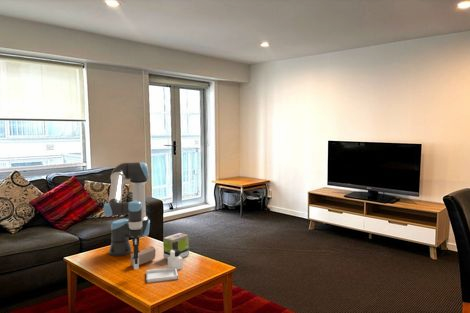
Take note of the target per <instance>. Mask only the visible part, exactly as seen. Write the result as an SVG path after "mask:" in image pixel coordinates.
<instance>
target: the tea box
mask: <svg viewBox="0 0 470 313" xmlns="http://www.w3.org/2000/svg"><path fill="white" fill-rule="evenodd" d="M162 240H163V242H162V245H163V258H164V259H165V260H168V257H170V251H171V250H173V249H178V250H180V257H182V258H185V257H187V256H190V242H189V240H190V238H189V234H187V233H181V232H178V233H175V234H170V235H167V236H165V237H163V239H162Z"/></svg>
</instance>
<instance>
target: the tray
mask: <svg viewBox="0 0 470 313" xmlns="http://www.w3.org/2000/svg"><path fill="white" fill-rule="evenodd" d="M145 272H146V273H145V275H146V276H145V277H146V284H148V283H155V282H156V283H157V282H166V281H173V280H175V281H176V280H179V274H178V270H177V269H176V267H174V268H168V267H165V268H155V269H153V268H152V269H147V270H146V271H145Z"/></svg>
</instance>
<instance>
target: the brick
mask: <svg viewBox="0 0 470 313" xmlns="http://www.w3.org/2000/svg"><path fill="white" fill-rule="evenodd" d="M139 251H140V252H138V253H139V266H141V265H143V264H146V263H149V262H151V261H153V260H155V258H156V252H157V251H156V248H155V247H154V246H153V245H151V246H149V247H147V248H144V249H142V250H139ZM133 257H134V252H133V253H130V265H131V267H133V268H134V259H132V258H133Z"/></svg>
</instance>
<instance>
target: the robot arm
mask: <svg viewBox="0 0 470 313" xmlns="http://www.w3.org/2000/svg"><path fill="white" fill-rule="evenodd" d="M149 179H150V174H149V168H148V164H147V163H146V162H142V161H141V162H139V161H136V162H122V163H120V164H117V166H115V167H114V168H113V170H112V171H111V174H110V180H111V181H110V182H111V183H110V188H109V194H108V195H109V197H108V202H107V203H106V202H105V203H104V204H103V215H104V216H105V217H106V216H109V217H112V216H128V218H121V219H116V220H114V221H112V222H111V224H110V225H111V226H110V233H111V235H110V236H111V237H110V239H111V243H110V247H109V249H108V253H109V255H110V256H113V257H120V256H121V257H122V256H127V255H130V254H132V247H133V253H134V257H133V258H132V259H134V267H133V270H139V269H140V265H139V253H138V252H140V251H141V250H140V249H139V246H140V238H143V237H148V236H149V234H150V226H151V224H150V223H151V220H150V219H149V217H148V216H147V215H146V214H147V213H146V210H147V208H146V183H147V182H148V180H149ZM125 180H129V183H131V184H132V201H125V202H124V201H123V191H124V190H123V189H124V182H125ZM122 201H123V202H122ZM129 238H132V239H131V240H132V246H131V243H130V241H129V240H130V239H129Z"/></svg>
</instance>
